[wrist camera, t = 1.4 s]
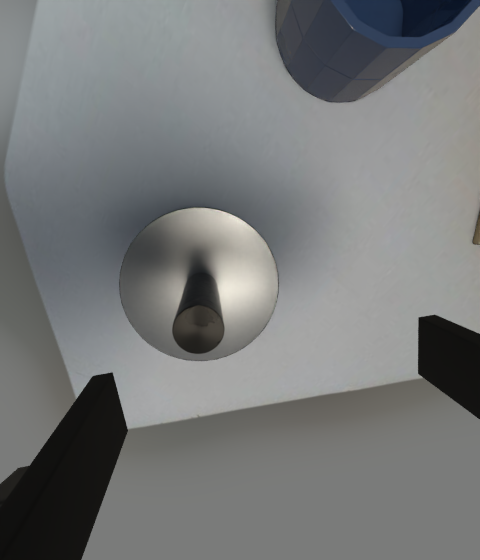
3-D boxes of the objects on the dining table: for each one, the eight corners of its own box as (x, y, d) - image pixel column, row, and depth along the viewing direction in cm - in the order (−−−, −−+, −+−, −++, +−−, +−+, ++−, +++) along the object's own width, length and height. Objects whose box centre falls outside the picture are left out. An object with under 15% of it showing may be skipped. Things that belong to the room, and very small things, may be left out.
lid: (104, 332, 27) (37, 407, 17) (148, 183, 25) (104, 157, 14) (246, 371, 30) (268, 459, 19) (298, 239, 28) (357, 253, 17)
